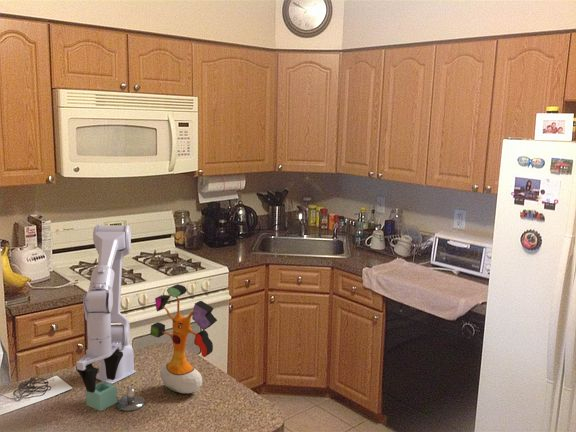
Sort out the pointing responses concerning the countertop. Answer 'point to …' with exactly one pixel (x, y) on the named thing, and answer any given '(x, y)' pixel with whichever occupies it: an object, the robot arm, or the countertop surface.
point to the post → (130, 401)
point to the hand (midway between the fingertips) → (101, 384)
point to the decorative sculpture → (184, 342)
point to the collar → (102, 396)
